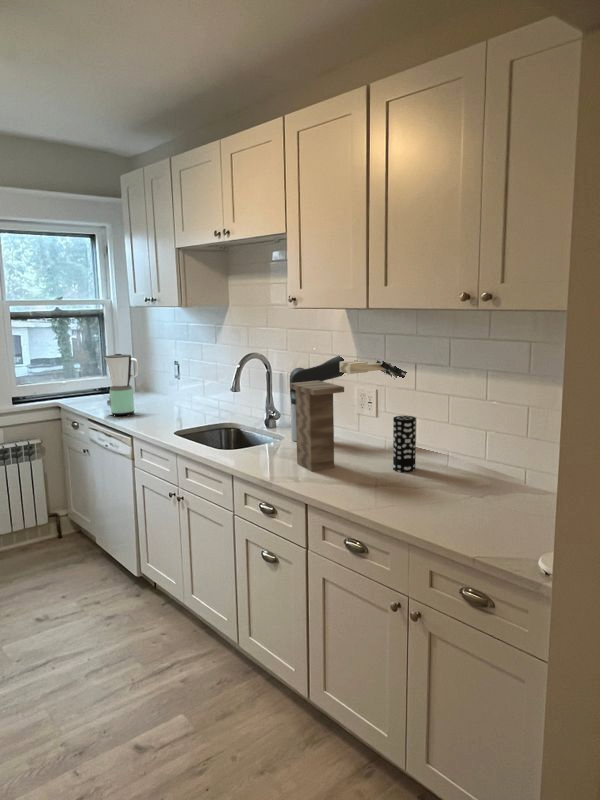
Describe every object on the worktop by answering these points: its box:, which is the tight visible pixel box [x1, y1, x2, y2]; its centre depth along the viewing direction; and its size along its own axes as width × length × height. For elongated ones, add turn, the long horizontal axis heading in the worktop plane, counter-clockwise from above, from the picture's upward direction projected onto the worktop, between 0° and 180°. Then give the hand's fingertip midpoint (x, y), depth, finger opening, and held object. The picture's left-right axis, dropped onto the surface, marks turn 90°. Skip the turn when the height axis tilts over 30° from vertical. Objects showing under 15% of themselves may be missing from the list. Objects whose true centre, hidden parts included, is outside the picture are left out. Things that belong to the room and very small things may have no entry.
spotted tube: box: [392, 415, 417, 473], centre depth 226 cm, size 8×8×20 cm
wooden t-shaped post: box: [289, 380, 345, 472], centre depth 233 cm, size 20×13×32 cm, turn 27°
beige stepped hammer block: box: [340, 360, 391, 375], centre depth 239 cm, size 8×21×4 cm, turn 117°
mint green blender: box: [103, 353, 139, 416], centre depth 343 cm, size 19×13×35 cm
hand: (378, 363), depth 241 cm, fingers closed on beige stepped hammer block, 3 cm apart
